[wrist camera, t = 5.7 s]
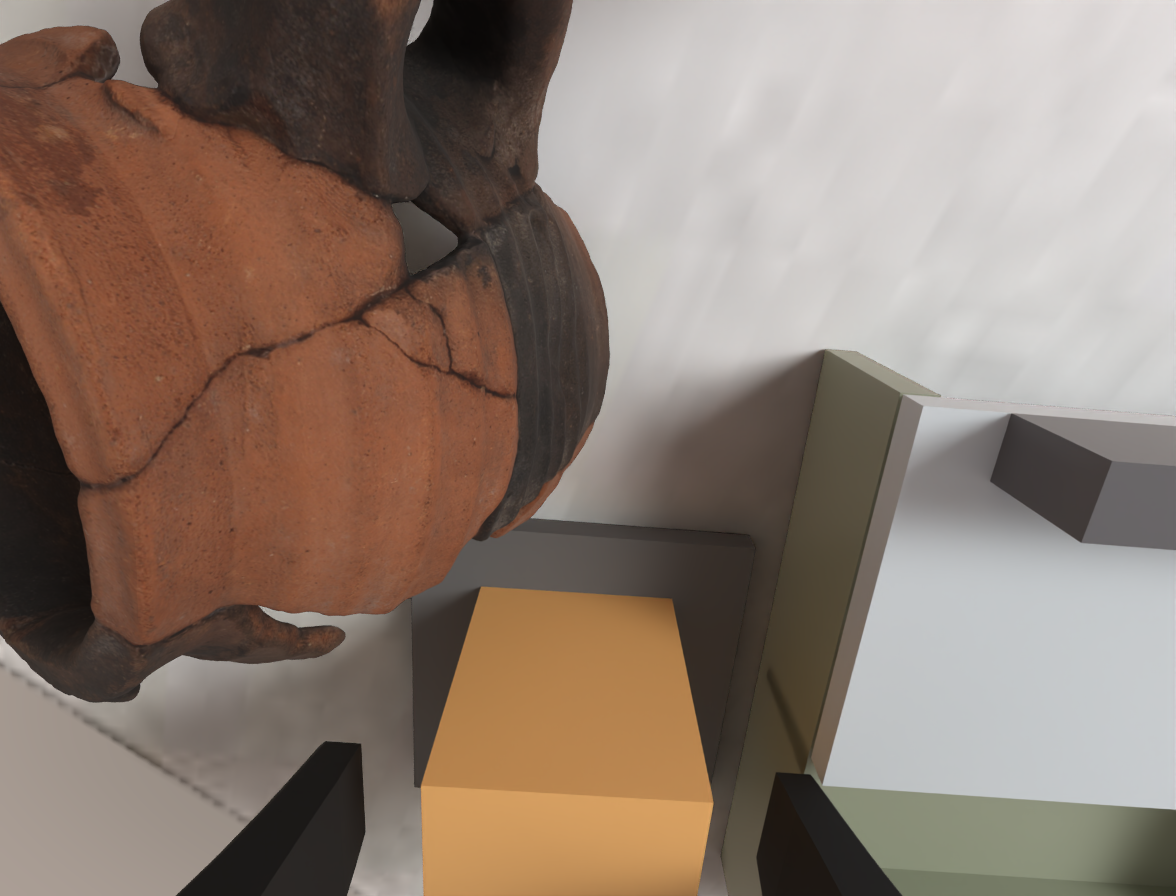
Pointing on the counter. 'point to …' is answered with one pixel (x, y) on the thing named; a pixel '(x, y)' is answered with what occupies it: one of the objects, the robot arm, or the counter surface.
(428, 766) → the block
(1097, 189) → the counter surface
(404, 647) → the counter surface
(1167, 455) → the lid
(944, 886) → the case
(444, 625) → the mat
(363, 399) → the broken clay pot
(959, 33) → the counter surface
